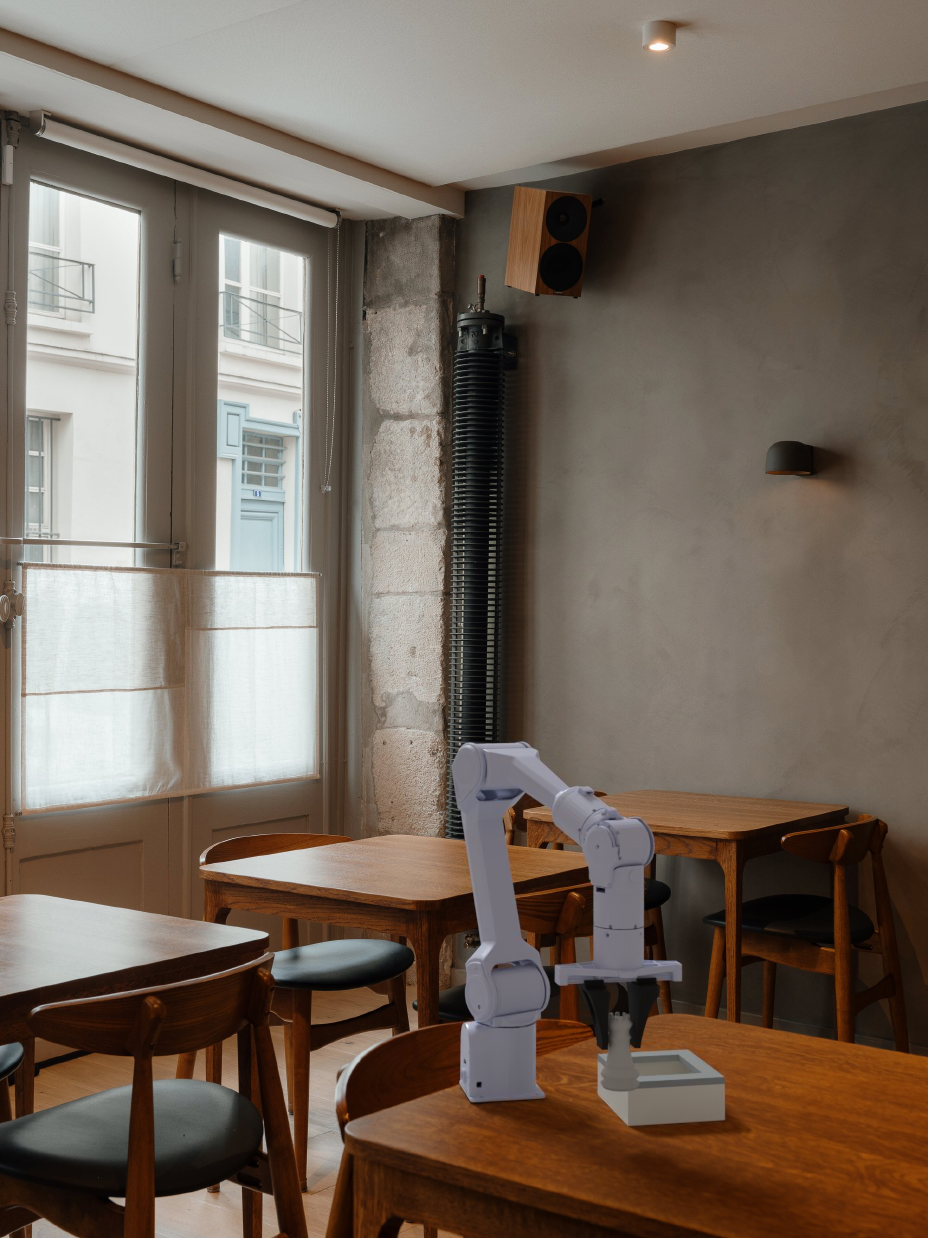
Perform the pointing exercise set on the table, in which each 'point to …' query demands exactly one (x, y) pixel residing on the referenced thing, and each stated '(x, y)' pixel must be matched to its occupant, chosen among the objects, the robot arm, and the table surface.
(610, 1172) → the table surface
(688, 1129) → the table surface
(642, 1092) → the piece box
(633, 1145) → the table surface
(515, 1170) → the table surface
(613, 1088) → the rook chess piece
